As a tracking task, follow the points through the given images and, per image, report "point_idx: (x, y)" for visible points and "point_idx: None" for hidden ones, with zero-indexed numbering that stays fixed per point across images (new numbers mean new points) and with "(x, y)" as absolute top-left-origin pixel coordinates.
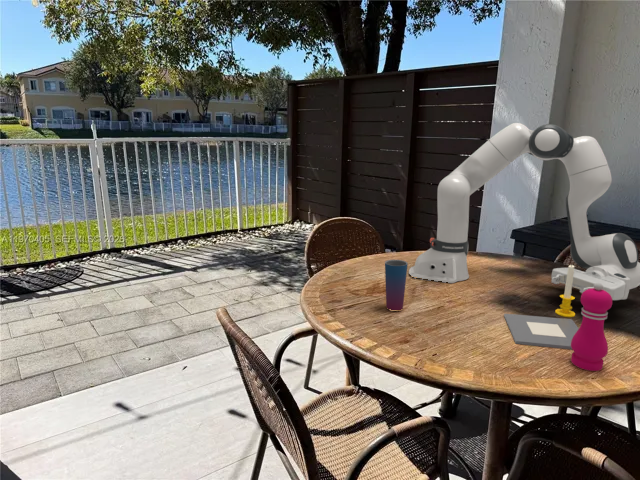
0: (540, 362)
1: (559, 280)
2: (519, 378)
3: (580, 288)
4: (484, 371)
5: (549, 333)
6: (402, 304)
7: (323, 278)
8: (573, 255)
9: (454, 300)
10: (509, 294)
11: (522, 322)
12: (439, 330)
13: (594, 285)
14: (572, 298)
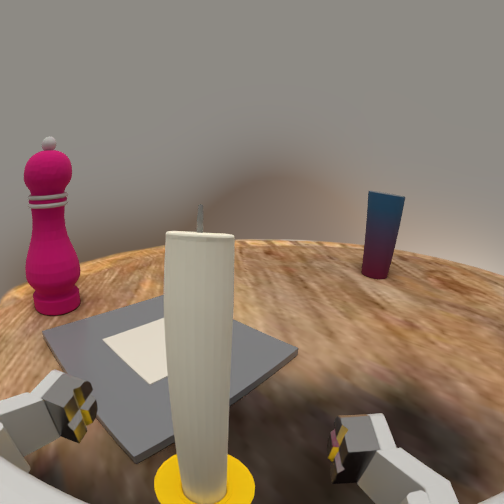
0: (118, 283)
1: (344, 466)
2: (126, 261)
3: (88, 382)
4: (163, 256)
5: (141, 334)
6: (367, 264)
7: (481, 271)
8: None
9: (418, 332)
10: (484, 460)
11: None
12: (280, 273)
13: (55, 142)
14: (170, 493)
